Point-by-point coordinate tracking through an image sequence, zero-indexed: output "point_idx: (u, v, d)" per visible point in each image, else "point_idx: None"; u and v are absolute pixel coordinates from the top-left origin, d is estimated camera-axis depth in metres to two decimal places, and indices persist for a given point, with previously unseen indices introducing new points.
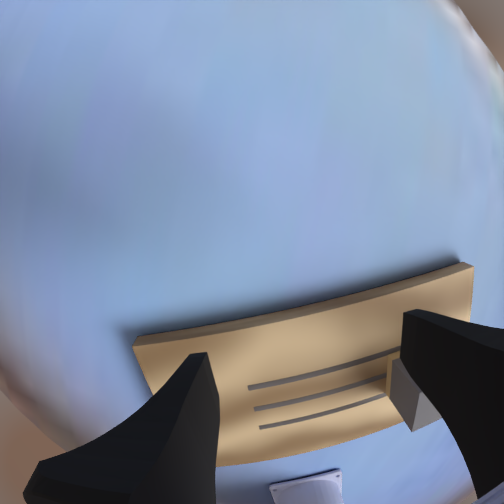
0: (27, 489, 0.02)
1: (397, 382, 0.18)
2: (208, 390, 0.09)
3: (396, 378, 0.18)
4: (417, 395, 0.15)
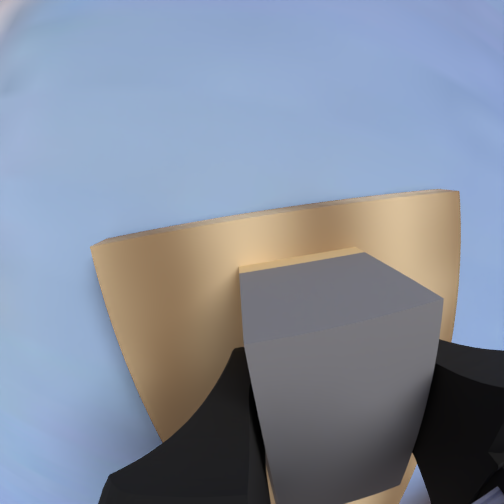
0: None
1: None
2: None
3: None
4: None
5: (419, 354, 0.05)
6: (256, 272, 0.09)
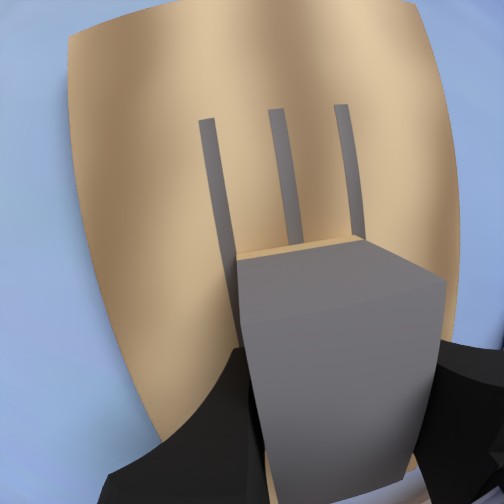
0: None
1: None
2: None
3: None
4: None
5: (422, 338, 0.05)
6: (254, 259, 0.09)
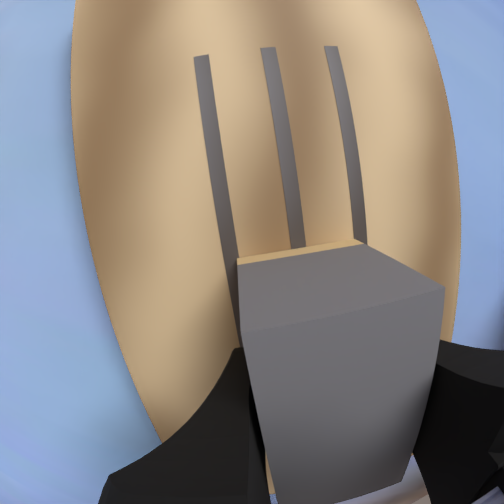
0: None
1: None
2: None
3: None
4: None
5: (420, 344, 0.05)
6: (254, 263, 0.09)
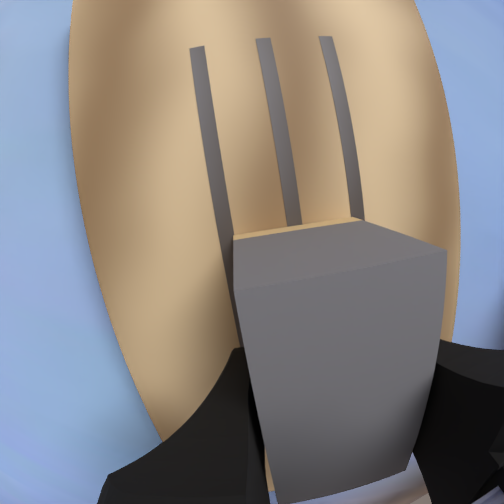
0: None
1: None
2: None
3: None
4: (289, 497, 0.07)
5: (424, 312, 0.05)
6: (250, 238, 0.09)
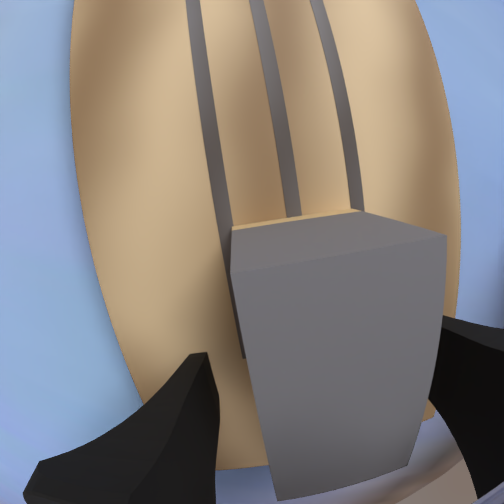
0: (27, 489, 0.02)
1: None
2: (208, 390, 0.09)
3: None
4: (288, 493, 0.07)
5: (425, 298, 0.05)
6: (249, 228, 0.09)
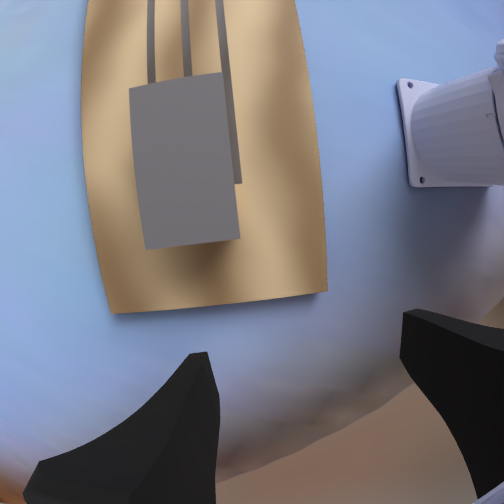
0: (27, 489, 0.02)
1: None
2: (208, 390, 0.09)
3: None
4: (155, 247, 0.12)
5: (212, 98, 0.11)
6: None
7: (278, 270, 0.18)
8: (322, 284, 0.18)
